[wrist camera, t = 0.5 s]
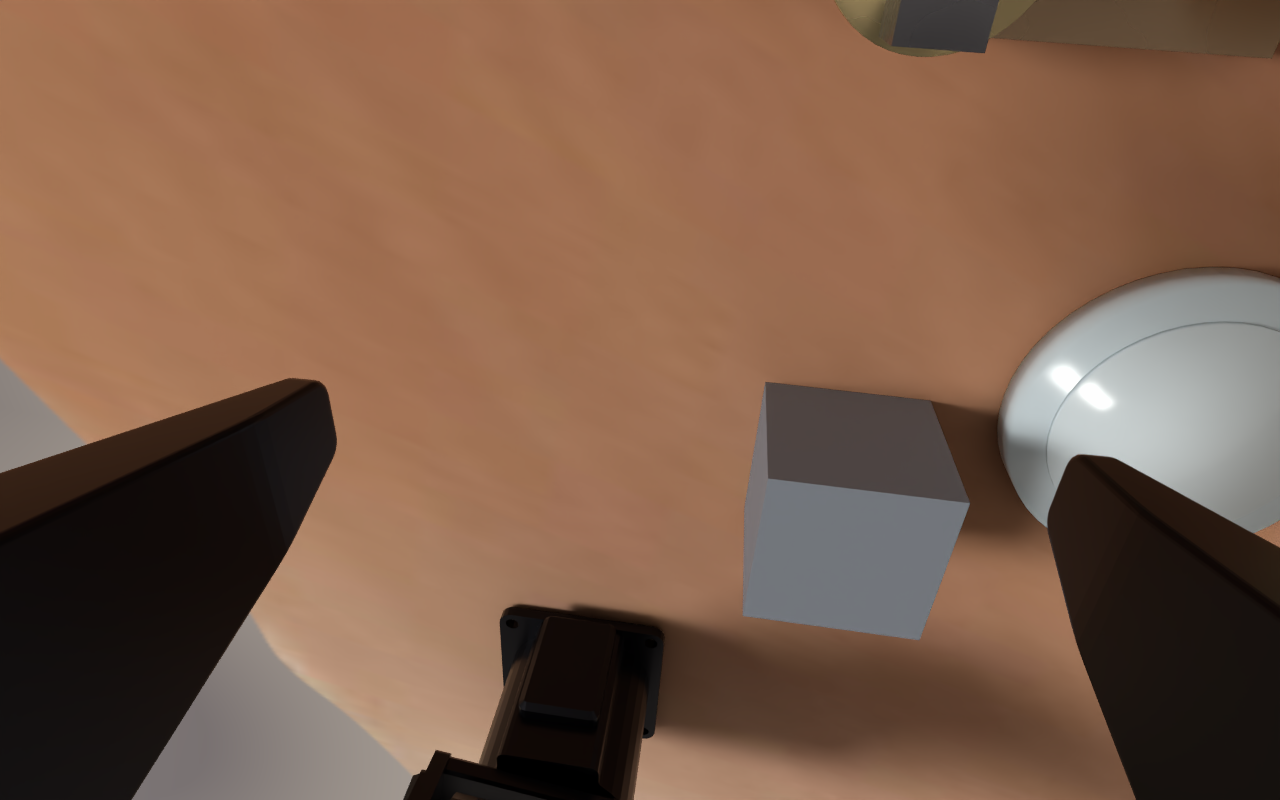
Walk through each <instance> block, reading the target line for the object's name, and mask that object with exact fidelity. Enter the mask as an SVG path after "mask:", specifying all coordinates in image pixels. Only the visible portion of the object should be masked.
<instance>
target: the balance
mask: <svg viewBox="0 0 1280 800" xmlns="http://www.w3.org/2000/svg"><path fill="white" fill-rule="evenodd" d="M834 2H835V3H836V5H837V7H838V8H839V10H840V12H841V13H842V14H843V16H844V17H845V18H846V20H847V21H848V22H849V23H850V24H851V25H852V26H853V27H854V28H855V29H856V30H857V31H858V32H859V33H860V34H861V35H863V36H864V37H866V38H867V39H868V40H870V41H871V42H873V43H874V44H876V45H878V46H880V47H882V48H885V49H887V50H889V51H893V52H896V53H899V54H903V55H910V56H916V57H933V56H941V55H948V54H952V53H956V52H960V51H962V52H975V53H985V50H986V47H987V43H988V39H990V38H1000V39H1013V40H1027V41H1040V42H1054V43H1067V44H1081V45H1095V46H1108V47H1122V48H1135V49H1149V50H1163V51H1176V52H1190V53H1203V54H1217V55H1231V56H1244V57H1258V58H1271V59H1272V57H1273V54H1274V52H1275V50H1276V48H1277V46H1278V43H1279V41H1280V0H834Z"/></svg>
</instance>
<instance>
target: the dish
mask: <svg viewBox="0 0 1280 800" xmlns="http://www.w3.org/2000/svg"><path fill="white" fill-rule="evenodd" d="M997 433H998V446H999V450H1000V454H1001V459H1002V461H1003V463H1004V466H1005V468H1006V470H1007V473H1008V475H1009V477H1010V479H1011V481H1012V483H1013V485H1014V487H1015V489H1016V492H1017V494H1018V496H1019V497H1020V499H1021V500H1022V502H1023V503H1024V505H1025V507H1026V508H1027V509H1028V510H1029V512H1030V513H1031V514H1032V515H1033V516H1034V517H1035V518H1036V519H1037V520H1038V521H1039V522H1040V523H1042V524H1043V525H1044V526H1045V527H1047V517H1048V512H1049V508H1050V506H1051V503H1052V501H1053V498H1054V496H1055V493H1056V490H1057V488H1058V485H1059V483H1060V480H1061V478H1062V475H1063V473H1064V470H1065V468H1066V465H1067V464H1068V462H1069V461H1070V459H1071V458H1072V457H1074V456H1076V455H1078V454H1087V455H1098V456H1108V457H1113V458H1116V459H1118V460H1120V461H1122V462H1124V463H1125V464H1127V465H1129V466H1131V467H1133V468H1135V469H1136V470H1138V471H1140V472H1142V473H1144V474H1146V475H1147V476H1149V477H1151V478H1153V479H1155V480H1157V481H1158V482H1160V483H1162V484H1164V485H1166V486H1168V487H1169V488H1171V489H1173V490H1175V491H1177V492H1179V493H1180V494H1182V495H1184V496H1186V497H1188V498H1190V499H1191V500H1193V501H1195V502H1197V503H1199V504H1201V505H1202V506H1204V507H1206V508H1208V509H1210V510H1212V511H1213V512H1215V513H1217V514H1219V515H1221V516H1223V517H1224V518H1226V519H1228V520H1230V521H1232V522H1234V523H1235V524H1237V525H1239V526H1241V527H1243V528H1245V529H1246V530H1248V531H1250V532H1252V533H1255V532H1257V531H1259V530H1262V529H1264V528H1266V527H1268V526H1270V525H1272V524H1274V523H1275V522H1277V521H1279V520H1280V278H1278V277H1275V276H1271V275H1268V274H1265V273H1261V272H1258V271H1252V270H1245V269H1239V268H1226V267H1203V268H1190V269H1182V270H1176V271H1171V272H1166V273H1160V274H1157V275H1153V276H1150V277H1146V278H1143V279H1139V280H1136V281H1133V282H1131V283H1128V284H1126V285H1123V286H1121V287H1118V288H1116V289H1113V290H1111V291H1109V292H1107V293H1105V294H1103V295H1101V296H1099V297H1097V298H1095V299H1093V300H1091V301H1089V302H1088V303H1086V304H1085V305H1083V306H1082V307H1080V308H1079V309H1077V310H1076V311H1074V312H1072V313H1071V314H1069V315H1068V316H1067V317H1066V318H1064V319H1063V320H1062V321H1061V322H1059V323H1058V324H1057V325H1056V326H1054V327H1053V328H1052V329H1051V330H1050V331H1049V332H1048V333H1047V334H1046V335H1045V336H1044V337H1043V338H1041V339H1040V340H1039V341H1038V342H1037V343H1036V344H1035V346H1034V347H1033V348H1032V349H1031V351H1030V352H1029V353H1028V354H1027V356H1026V357H1025V358H1024V359H1023V361H1022V362H1021V364H1020V365H1019V367H1018V368H1017V370H1016V372H1015V373H1014V375H1013V376H1012V378H1011V380H1010V383H1009V385H1008V387H1007V389H1006V391H1005V394H1004V396H1003V400H1002V404H1001V407H1000V411H999V418H998V426H997Z"/></svg>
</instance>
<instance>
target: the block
mask: <svg viewBox="0 0 1280 800" xmlns="http://www.w3.org/2000/svg"><path fill="white" fill-rule="evenodd" d="M969 505H970V502H969V499H968V496H967V494H966V491H965V489H964V486H963V484H962V481H961V478H960V476H959V473H958V471H957V468H956V465H955V463H954V460H953V458H952V455H951V452H950V450H949V447H948V445H947V442H946V439H945V437H944V434H943V432H942V429H941V426H940V424H939V421H938V419H937V416H936V413H935V411H934V408H933V406H932V403H931V401H929V400H920V399H911V398H903V397H894V396H885V395H876V394H867V393H858V392H849V391H840V390H831V389H823V388H814V387H805V386H796V385H787V384H778V383H769V382H765V387H764V393H763V399H762V405H761V411H760V417H759V423H758V429H757V435H756V441H755V447H754V453H753V459H752V465H751V471H750V477H749V483H748V489H747V495H746V501H745V511H744V572H743V616H747V617H755V618H762V619H769V620H776V621H784V622H791V623H798V624H806V625H813V626H820V627H827V628H835V629H842V630H849V631H857V632H864V633H871V634H878V635H886V636H893V637H900V638H907V639H915V640H920V637H921V635H922V632H923V629H924V626H925V624H926V621H927V618H928V616H929V613H930V610H931V608H932V605H933V602H934V599H935V597H936V594H937V591H938V589H939V586H940V583H941V581H942V578H943V575H944V572H945V570H946V567H947V564H948V562H949V559H950V556H951V554H952V551H953V548H954V545H955V543H956V540H957V537H958V535H959V532H960V529H961V527H962V524H963V521H964V518H965V516H966V513H967V510H968V508H969Z"/></svg>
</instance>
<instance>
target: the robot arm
mask: <svg viewBox="0 0 1280 800" xmlns="http://www.w3.org/2000/svg"><path fill="white" fill-rule="evenodd" d="M336 445H337V437H336V431H335V426H334V421H333V416H332V410H331V405H330V400H329V395H328V392H327V389H326V387H325V386H324V385H323V384H322V383H321V382H320V381H316V380H307V379H296V378H289V379H285V380H282V381H279V382H276V383H273V384H270V385H266V386H263V387H260V388H257V389H254V390H251V391H248V392H245V393H242V394H239V395H236V396H233V397H230V398H227V399H224V400H221V401H218V402H215V403H212V404H209V405H206V406H203V407H200V408H197V409H194V410H191V411H188V412H185V413H181V414H178V415H175V416H172V417H169V418H166V419H163V420H160V421H157V422H154V423H151V424H148V425H145V426H142V427H139V428H136V429H133V430H130V431H127V432H124V433H121V434H118V435H115V436H112V437H109V438H106V439H103V440H99V441H96V442H93V443H90V444H87V445H84V446H81V447H78V448H75V449H72V450H69V451H66V452H63V453H60V454H57V455H54V456H51V457H48V458H45V459H42V460H39V461H36V462H33V463H30V464H27V465H24V466H21V467H18V468H15V469H11V470H8V471H6V472H2V473H0V800H132V798H133V797H134V795H135V793H136V792H137V790H138V789H139V787H140V786H141V784H142V782H143V781H144V779H145V777H146V776H147V774H148V773H149V771H150V770H151V768H152V766H153V765H154V763H155V762H156V760H157V759H158V757H159V755H160V754H161V752H162V751H163V749H164V747H165V746H166V744H167V743H168V741H169V740H170V738H171V736H172V735H173V733H174V731H175V730H176V728H177V727H178V725H179V724H180V722H181V720H182V719H183V717H184V716H185V714H186V712H187V711H188V709H189V708H190V706H191V705H192V703H193V701H194V700H195V698H196V696H197V695H198V693H199V692H200V690H201V688H202V687H203V686H204V684H205V682H206V681H207V679H208V678H209V676H210V674H211V673H212V671H213V670H214V668H215V666H216V665H217V663H218V662H219V660H220V659H221V657H222V655H223V654H224V652H225V651H226V649H227V647H228V646H229V644H230V643H231V641H232V640H233V638H234V636H235V634H236V633H237V631H238V630H239V628H240V627H241V625H242V624H243V622H244V620H245V619H246V617H247V616H248V614H249V613H250V611H251V609H252V608H253V606H254V605H255V603H256V601H257V600H258V598H259V597H260V595H261V594H262V592H263V590H264V589H265V587H266V586H267V584H268V582H269V581H270V579H271V578H272V576H273V574H274V573H275V571H276V570H277V568H278V566H279V565H280V563H281V561H282V560H283V558H284V556H285V555H286V553H287V551H288V549H289V547H290V545H291V544H292V542H293V540H294V538H295V536H296V534H297V532H298V530H299V528H300V526H301V524H302V521H303V519H304V517H305V515H306V513H307V511H308V509H309V507H310V505H311V503H312V501H313V499H314V497H315V494H316V492H317V490H318V488H319V486H320V484H321V482H322V480H323V478H324V476H325V474H326V472H327V470H328V468H329V465H330V463H331V461H332V459H333V457H334V454H335V451H336ZM1047 529H1048V534H1049V538H1050V542H1051V546H1052V550H1053V554H1054V558H1055V562H1056V566H1057V570H1058V574H1059V578H1060V582H1061V586H1062V590H1063V594H1064V598H1065V602H1066V606H1067V610H1068V614H1069V618H1070V622H1071V625H1072V629H1073V632H1074V636H1075V639H1076V643H1077V646H1078V649H1079V651H1080V654H1081V657H1082V660H1083V663H1084V665H1085V668H1086V671H1087V673H1088V676H1089V678H1090V681H1091V684H1092V686H1093V689H1094V691H1095V694H1096V697H1097V699H1098V702H1099V704H1100V707H1101V710H1102V712H1103V715H1104V717H1105V720H1106V723H1107V725H1108V728H1109V730H1110V733H1111V736H1112V738H1113V741H1114V743H1115V746H1116V749H1117V751H1118V754H1119V756H1120V759H1121V762H1122V764H1123V767H1124V769H1125V772H1126V775H1127V777H1128V780H1129V782H1130V785H1131V788H1132V790H1133V793H1134V795H1135V798H1136V800H1280V548H1279V547H1278V546H1276V545H1274V544H1272V543H1270V542H1268V541H1267V540H1265V539H1263V538H1261V537H1259V536H1257V535H1256V534H1254V533H1252V532H1250V531H1248V530H1246V529H1245V528H1243V527H1241V526H1239V525H1237V524H1235V523H1234V522H1232V521H1230V520H1228V519H1226V518H1224V517H1223V516H1221V515H1219V514H1217V513H1215V512H1213V511H1212V510H1210V509H1208V508H1206V507H1204V506H1202V505H1201V504H1199V503H1197V502H1195V501H1193V500H1191V499H1190V498H1188V497H1186V496H1184V495H1182V494H1180V493H1179V492H1177V491H1175V490H1173V489H1171V488H1169V487H1168V486H1166V485H1164V484H1162V483H1160V482H1158V481H1157V480H1155V479H1153V478H1151V477H1149V476H1147V475H1146V474H1144V473H1142V472H1140V471H1138V470H1136V469H1135V468H1133V467H1131V466H1129V465H1127V464H1125V463H1124V462H1122V461H1120V460H1118V459H1116V458H1113V457H1108V456H1098V455H1087V454H1078V455H1076V456H1074V457H1072V458H1071V459H1070V461H1069V462H1068V464H1067V465H1066V468H1065V470H1064V473H1063V475H1062V478H1061V480H1060V483H1059V485H1058V488H1057V490H1056V493H1055V496H1054V498H1053V501H1052V503H1051V506H1050V508H1049V512H1048V517H1047ZM514 620H515V621H514ZM500 634H501V650H502V666H503V682H504V689H503V692H502V695H501V698H500V701H499V704H498V707H497V710H496V713H495V716H494V719H493V722H492V725H491V728H490V731H489V734H488V737H487V740H486V743H485V746H484V749H483V752H482V755H481V758H480V761H479V764H478V763H474V762H470V761H466V760H462V759H458V758H455V757H451V754H450V753H447V752H443V751H439V750H436V751H435V753H434V755H433V757H432V759H431V761H430V764H429V766H428V768H427V770H422V771H421V772H420V774H417V775H413V777H412V779H411V782H410V785H409V787H408V789H407V792H406V794H405V797H404V799H403V800H634V793H635V786H636V779H637V772H638V765H639V757H640V750H641V743H642V738H646V739H647V738H650V737H652V736H653V735H654V732H655V724H656V714H657V705H658V696H659V686H660V677H661V668H662V658H663V649H664V639H665V636H664V633H663V632H662V631H661V630H660V629H658V628H655V627H651V626H644V625H636V624H629V623H622V622H615V621H608V620H601V619H594V618H587V617H579V616H572V615H565V614H558V613H551V612H544V611H537V610H530V609H523V608H515V607H509V608H507V609H505V610H504V611H503V614H502V616H501V619H500ZM650 639H652V640H650Z"/></svg>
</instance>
